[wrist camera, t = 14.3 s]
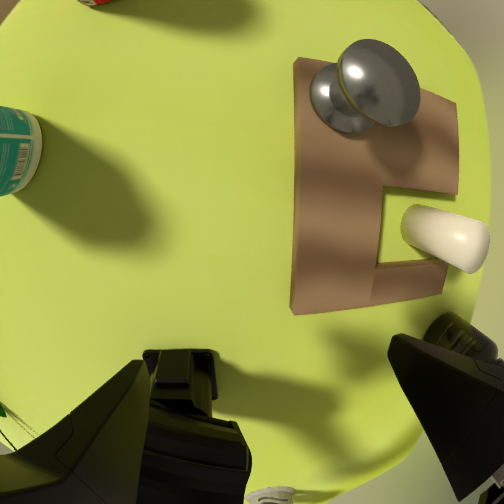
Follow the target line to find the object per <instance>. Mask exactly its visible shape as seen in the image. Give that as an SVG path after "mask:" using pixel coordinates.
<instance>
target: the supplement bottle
mask: <svg viewBox="0 0 504 504" xmlns="http://www.w3.org/2000/svg"><path fill="white" fill-rule="evenodd" d="M423 341H424V342H427V343H430V344H433V345H435V346H438V347H441V348H444V349H447V350H449V351H452V352H455V353H458V354H461V355H463V356H466V357H469V358H472V359H473V360H474V359H475V360H478V361H481V362H484V363H487V364H490V365H494V366H497V367H501V368H504V361H503V360H502V359H501V358H499V359H497V356H498V348H497V345H496V344H495V343H494V342H493V341H492V340H491V339H489V338H488V337H487V336H485V335H484V334H483V333H481V332H480V331H478V330H477V329H476V328H475V327H473V326H472V325H471V324H469V323H468V322H466V321H465V320H464V319H462V318H461V317H459V316H458V315H457V314H455V313H446V314H444V315H442V316H440V317H439V318H438V319H437V320H436V321H435V322H434V323H433V324H432V325H431V327H430V328H429V330H428V331H427V333H426V335H425V337H424V340H423Z"/></svg>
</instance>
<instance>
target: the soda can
mask: <svg viewBox="0 0 504 504" xmlns="http://www.w3.org/2000/svg"><path fill="white" fill-rule="evenodd" d="M77 1H78V2H80V3H81V4H83V5H86V6H95V5H100V4H103V3H106V2H109V1H112V0H77Z"/></svg>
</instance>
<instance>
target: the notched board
mask: <svg viewBox="0 0 504 504" xmlns="http://www.w3.org/2000/svg"><path fill="white" fill-rule="evenodd" d="M329 64H333V63H332V62H326V61H321V60H315V59H309V58H302V57H298V58H297V59H296V61H295V62H294V63H293V80H294V126H295V172H294V222H293V250H292V272H291V290H290V309H291V311H292V313H293V314H294V315H304V314H314V313H323V312H331V311H339V310H347V309H355V308H362V307H369V306H375V305H382V304H388V303H394V302H400V301H406V300H411V299H417V298H422V297H427V296H432V295H437V294H442V291H443V287H444V282H445V278H446V273H447V269H448V264H449V263H447V262H445V261H443V260H441V259H439V258H435V259H423V260H411V261H398V262H384V263H376V258H377V250H378V242H379V233H380V222H381V210H382V195H383V186H393V187H403V188H412V189H420V190H428V191H435V192H443V193H449V194H456V195H458V181H459V136H458V119H457V108H456V103H454V102H452V101H450V100H448V99H445V98H443V97H441V96H439V95H436V94H434V93H432V92H429V91H427V90H424V89H422V88H420V95H421V99H420V106H419V109H418V112H417V114H416V115H415V117H414V118H413V119H412V120H411V121H409V122H408V123H406V124H403V125H398V126H392V127H384V126H379V125H375V124H374V125H373V126H372V127H371V128H370V129H368V130H366V131H364V132H360V133H355V134H344V133H340V132H337V131H335V130H333V129H331V128H329V127H328V126H327V125H325V124H324V123H323V122H322V121H321V120H320V119H319V117H318V116H317V115H316V113H315V111H314V109H313V107H312V105H311V102H310V96H309V88H310V84H311V81H312V79H313V77H314V76H315V74H316V73H318V72H319V71H320V70H321V69H322V68H323V67H325V66H327V65H329Z"/></svg>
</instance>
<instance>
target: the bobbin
mask: <svg viewBox="0 0 504 504" xmlns="http://www.w3.org/2000/svg"><path fill="white" fill-rule="evenodd" d="M309 96H310V102H311V105H312V107H313V109H314V111H315V113H316V115H317V116H318V117H319V119H320V120H321V121H322V122H323V123H324V124H325V125H327V126H328V127H329V128H331V129H333V130H335V131H337V132H340V133H344V134H355V133H360V132H364V131H366V130H368V129H370V128H371V127H372V126H373V125H374V124H375V125H379V126H384V127H392V126H398V125H403V124H406V123H408V122H409V121H411V120H412V119H413V118H414V117H415V115H416V114H417V112H418V109H419V106H420V99H421V95H420V87H419V83H418V80H417V77H416V75H415V73H414V71H413V69H412V67H411V66H410V64H409V63H408V61H407V60H406V59H405V58H404V57H403V56H402V55H401V54H400V53H399V52H398V51H397V50H395V49H394V48H393V47H391V46H389V45H388V44H386V43H383V42H381V41H378V40H373V39H363V40H359V41H356V42H354V43H353V44H351V45H350V46H349V47H348V48H346V49H345V50H344V51H343V52H342V54H341V55H340V57H339V59H338V63H333V64H329V65H327V66H325V67H323V68H322V69H321V70H320V71H319V72H318V73H316V74H315V76H314V77H313V79H312V81H311V84H310V88H309Z"/></svg>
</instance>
